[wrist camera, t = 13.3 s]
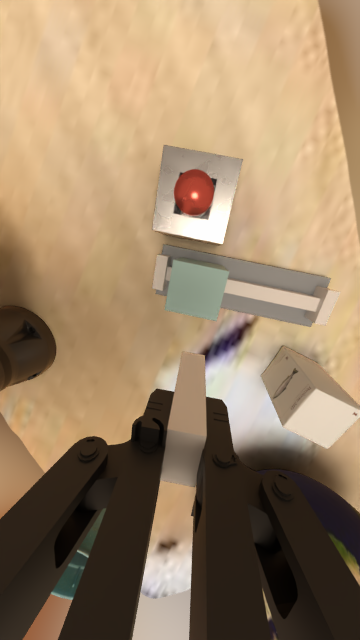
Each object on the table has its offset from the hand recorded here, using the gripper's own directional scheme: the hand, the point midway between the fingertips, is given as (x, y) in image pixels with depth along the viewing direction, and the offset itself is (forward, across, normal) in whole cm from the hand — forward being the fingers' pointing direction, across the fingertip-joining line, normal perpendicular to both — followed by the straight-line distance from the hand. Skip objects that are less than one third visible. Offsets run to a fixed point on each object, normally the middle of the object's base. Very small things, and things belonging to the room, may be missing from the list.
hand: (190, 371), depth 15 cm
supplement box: (+24, +18, -11) cm, 32 cm away
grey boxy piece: (+24, -2, +14) cm, 28 cm away
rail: (+24, +6, +3) cm, 25 cm away
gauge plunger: (+21, -2, +14) cm, 25 cm away
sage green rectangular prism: (+22, 0, +3) cm, 22 cm away
